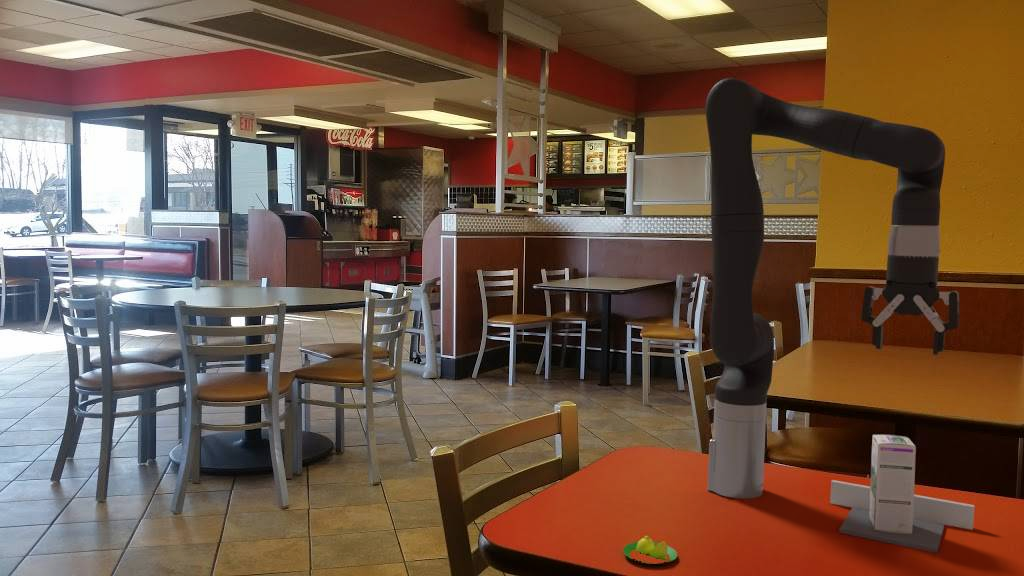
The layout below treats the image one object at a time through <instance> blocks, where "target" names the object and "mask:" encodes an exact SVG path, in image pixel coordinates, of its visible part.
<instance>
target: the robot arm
mask: <svg viewBox="0 0 1024 576" xmlns="http://www.w3.org/2000/svg"><path fill="white" fill-rule="evenodd" d="M705 120H706V126H707V133H708V135H707V136H708V142H709V148H710V149H709V151H710V165H711V167H710V200H711V201H710V203H711V204H710V216H711V217H710V229H711V230H710V231H711V247H712V249H711V250H712V251H711V253H712V259H711V260H712V284H713V286H712V290H713V291H712V303H711V305H712V306H711V315H710V316H711V318H710V325H709V326H710V328H709V341H710V342H709V343H710V347H711V350H712V352H713V354H714V355H715V358H716V359H717V360H718V361H719V362H720V363H721V364H723V365H724V367H723V372H722V374H721V376H720V378H719V379H718V381H717V382H716V384H715V386H714V406H713V407H714V408H713V431H712V432H713V433H712V434H713V435H712V436H713V437H712V438H711V439H709V443H708V466H707V467H708V468H707V491H711V492H714V493H716V494H717V495H720V496H723V497H726V498H727V497H728V498H732V499H754V498H758V497H759V498H760V497H761V496H762V495H763V490H764V487H763V486H764V469H765V468H764V467H765V466H764V464H765V443H766V442H765V441H766V422H767V421H766V420H767V401H768V400H767V398H768V392H769V389H770V386H771V384H772V379H773V378H772V377H773V368H774V367H773V366H774V356H775V355H774V354H775V353H774V352H775V337H774V332H773V328H772V326H771V324H770V323H769V321H768V320H767V319H766V318H765V317H763V316H762V315H760V314H758V313H756V312H755V313H754V306H753V288H754V281H755V277H756V272H757V270H758V267H759V263H760V259H761V256H762V253H763V248H764V242H765V241H764V240H765V211H764V202H763V196H762V191H761V187H760V184H759V181H758V176H757V173H756V169H755V165H754V164H755V163H754V160H753V150H752V149H753V148H752V147H753V136H768V137H773V138H774V137H775V138H779V139H784V140H789V141H793V142H797V143H800V144H803V145H806V146H809V147H812V148H815V149H818V150H822V151H824V152H828V153H832V154H835V155H839V156H844V157H847V158H851V159H855V160H861V161H872V162H876V163H878V164H882V165H885V166H888V167H892V168H895V169H897V180H896V181H897V182H896V191H895V194H894V196H893V199H892V203H891V205H892V206H891V222H890V225H891V226H890V229H889V231H890V232H889V236H888V241H887V242H888V244H887V260H886V261H887V262H886V275H885V276H886V277H885V278H886V279H885V285H884V287H883V288H881V287H875V286H871V285H870V286H866V287H865V288H864V292H863V293H864V294H863V302H862V308H861V316H860V317H861V318H860V319H861V321H862V322H863V323H866V324H869V325H871V327H872V334H871V335H872V336H871V343H872V345H873V346H875V349H876V350H882V349H883V344H884V343H883V341H884V326H883V324H884V322H886V320H887V319H889V317H890V316H892V314H894V313H895V314H897V315H899V316H900V315H901V316H906V315H911V316H913V317H920V316H922V315H924V316H925V317H926V318H927V320H928V321H929V322H930V324H931V325H932V326H933V328H934V329H935V331H934V334H933V346H932V347H933V348H932V356H939V355H940V353H941V352H943V351H944V349H945V339H946V332H947V331H951V330H956V329H958V327H959V326H960V294H959V292H958V291H956V290H953V291H940V290H939V288H938V276H939V264H940V263H939V258H940V252H941V247H940V244H941V239H940V238H941V236H940V217H941V216H940V215H941V214H940V213H941V187H942V183H943V176H944V172H945V171H944V169H945V159H946V148H945V144H944V141H943V140H942V139H941V138H940V137H939V136H938V135H937V134H936V133H935V132H934V131H931V130H930V129H927V128H923V127H918V126H913V125H909V124H902V123H895V122H887V121H882V120H879V119H876V118H872V117H870V116H865V115H862V114H861V115H860V114H857V113H851V112H847V111H841V110H837V109H829V108H824V107H823V108H822V107H815V106H813V107H812V106H805V105H800V104H796V103H792V102H788V101H785V100H782V99H779V98H776V97H774V96H771V95H770V94H767V93H765V92H763V91H760V90H759V89H758V88H757V87H755V86H754V85H753V84H750V83H749V82H747V81H745V80H743V79H739V78H736V77H727V78H723V79H721V80H719V81H718V82H717V83H715V84H714V85H713V86H712V87H711V89H710V90H709V92H708V94H707V97H706V101H705ZM880 295H881V296H882V297H883V298H884V300H885V302H886V303H887V304H888V305H887V306H885V308H884V309H883V310H882V311H881V312H880V313H879V314H878V315H877V316H874V315H873V311H874V310H873V308H874V301H876V300H878V299H879V296H880ZM939 299H941V300H943V303H944V305H945V306H948V321H945V322H944V321H943V320H942V318H941V317H940V315H939V314H938V312H937V311H936V309H935V308H934V307H933V306H934V304H936V303H937V302H938V301H939Z"/></svg>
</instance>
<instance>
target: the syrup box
mask: <svg viewBox="0 0 1024 576" xmlns="http://www.w3.org/2000/svg"><path fill="white" fill-rule="evenodd" d="M871 442H872V444H871V457H870V459H871V460H870V461H871V463H870V486H869V487H870V507H869V519H870V521H871V523H872V525H873V527H874V529H875V530H878V531H884V532H892V533H903V534H912V526H913V509H914V495H915V481H916V480H915V479H916V476H915V473H916V452H917V447H916V445H915V444H914V443H913V441H912V440H911V439H910V438H909V437H908V436H905V435H904V436H902V435H898V434H897V435H895V434H872V441H871Z"/></svg>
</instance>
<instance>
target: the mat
mask: <svg viewBox="0 0 1024 576" xmlns="http://www.w3.org/2000/svg"><path fill="white" fill-rule="evenodd" d="M838 529H839V531H838V533H839V534H845V535H849V536H853V537H854V536H855V537H858V538H863V539H868V540H873V541H877V542H883V543H888V544H891V545H897V546H902V547H906V548H910V549H911V548H912V549H916V550H922V551H925V552H931V553H936V554H937V553H938V551H939V548H940V544H941V540H942V537H943V533H944V529H945V525H944V524H938V523H933V522H927V521H922V520H917V519H913V526H912V534H903V533H892V532H884V531H878V530H875V529H874V527H873V525H872V523H871V521H870V519H869V510H865V509H860V508H854V507H853V508H852V507H851V509H850V511H849V513H848V514H847V516H846V517H845V519H844V521H843V522H842V524H841V525H840V527H839V528H838Z"/></svg>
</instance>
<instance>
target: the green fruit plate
mask: <svg viewBox="0 0 1024 576" xmlns="http://www.w3.org/2000/svg"><path fill="white" fill-rule="evenodd" d="M635 549H636V550H635ZM632 550H635V551H637V552H640V554H641V553H643V554H646V556H647V555H649V554H650V555H651V556H652V557H654V558H656V559H663V560H666V559H667V557H666V555H667V554H668V555H669V556H668V557H670V560H669V561H668V562H666V563H670V562H672V561H675V560H676V559H677V557H678V553H677V551H676V549H674V548H673V547H671V546H669V545H667V544H666V541H665V540H663V541H661V542H656V541H653V540H652V539H651V538H650V537H649V535H644V537H642V538H641V539H639V540H638V541H634V542H632V543H631V542H630V543H628V544H626V545H625V546H624V547H623V549H622V551H623V555H625V556H626V557H627V558H629V559H631V560H633V559H632V558H631V557H630V555H629V553H630V552H631V551H632ZM650 555H649V556H650ZM634 561H636V560H634ZM636 562H637V561H636ZM637 563H640V562H639V561H638V562H637ZM666 563H665V564H666ZM641 564H644V562H641ZM663 564H664V563H660V564H659V565H663ZM644 565H651V563H645V564H644Z"/></svg>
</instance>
